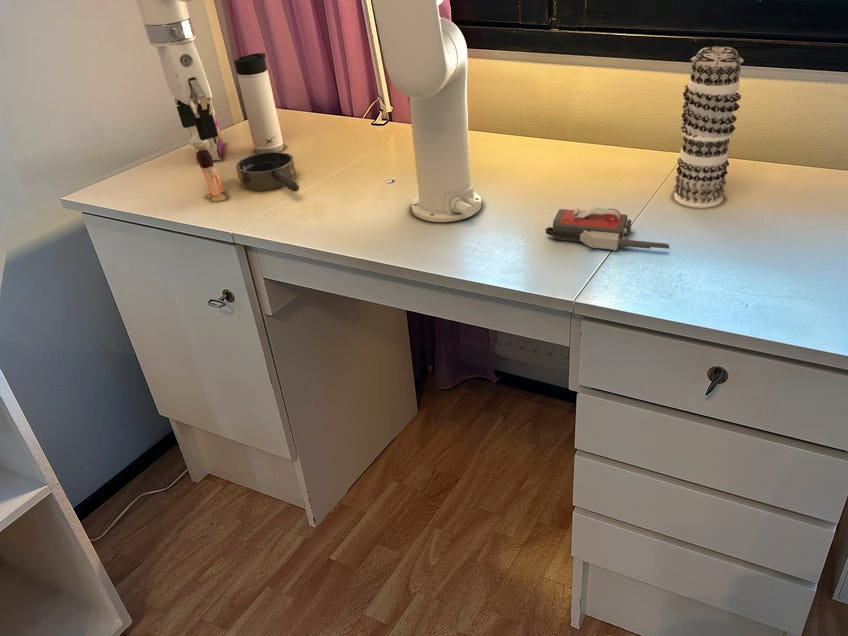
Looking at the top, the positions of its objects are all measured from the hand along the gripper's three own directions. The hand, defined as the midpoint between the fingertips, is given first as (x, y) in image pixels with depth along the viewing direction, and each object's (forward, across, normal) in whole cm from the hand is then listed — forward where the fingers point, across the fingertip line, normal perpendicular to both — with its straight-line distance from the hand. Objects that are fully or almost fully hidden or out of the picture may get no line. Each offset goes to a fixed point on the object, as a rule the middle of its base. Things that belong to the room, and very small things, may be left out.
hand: (200, 131), depth 134 cm
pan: (+13, +1, -10) cm, 17 cm away
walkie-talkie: (+15, -62, -43) cm, 77 cm away
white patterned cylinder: (+15, -61, -66) cm, 91 cm away
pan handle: (+11, -9, -11) cm, 18 cm away
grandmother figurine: (+13, +1, 0) cm, 13 cm away
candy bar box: (+12, +25, -7) cm, 28 cm away
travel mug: (+13, +18, -18) cm, 28 cm away
